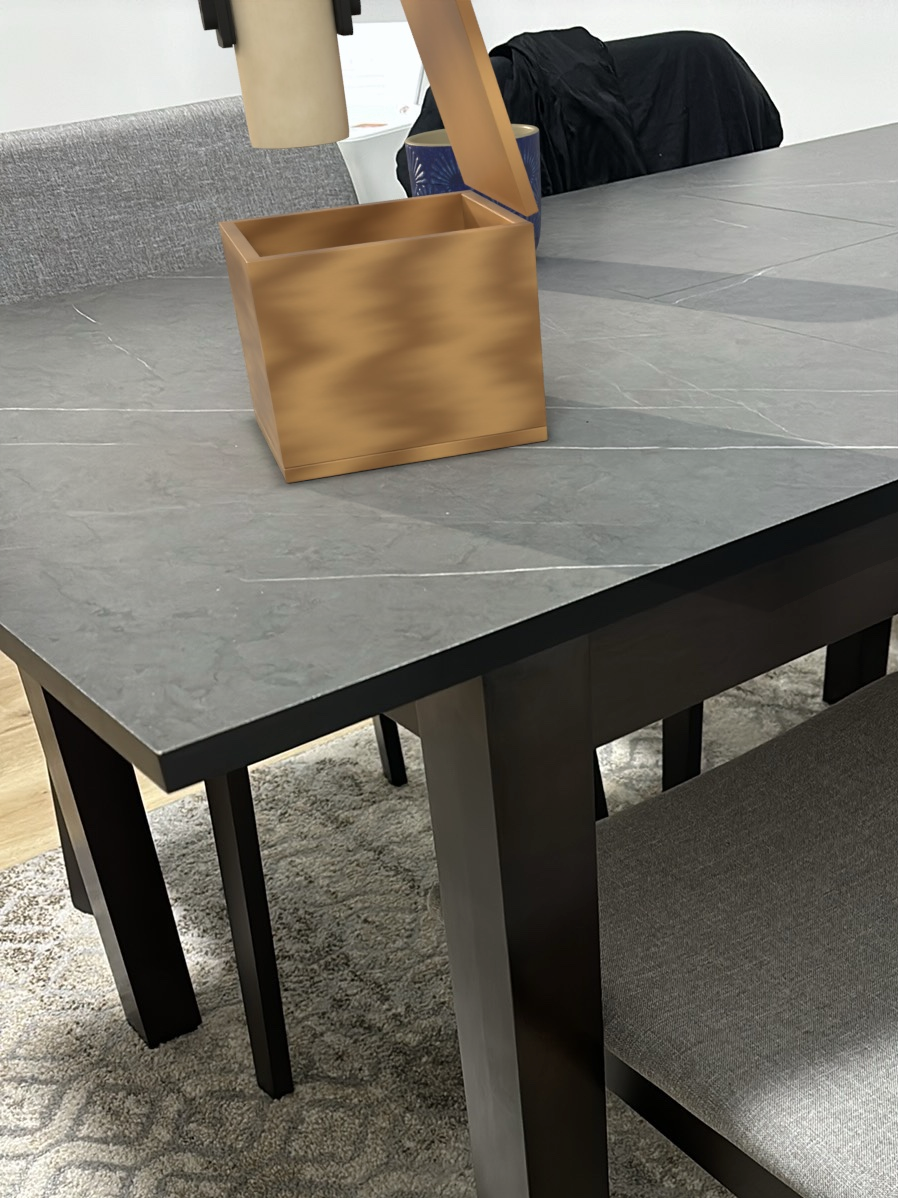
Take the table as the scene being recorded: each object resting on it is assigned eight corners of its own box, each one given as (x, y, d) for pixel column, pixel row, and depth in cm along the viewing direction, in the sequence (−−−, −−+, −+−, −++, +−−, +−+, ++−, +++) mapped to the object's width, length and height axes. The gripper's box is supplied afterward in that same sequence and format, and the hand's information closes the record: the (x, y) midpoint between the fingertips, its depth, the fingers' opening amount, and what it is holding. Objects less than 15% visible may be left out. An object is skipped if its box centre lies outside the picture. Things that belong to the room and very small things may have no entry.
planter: (408, 261, 138) (393, 134, 131) (528, 245, 140) (519, 119, 133) (433, 284, 128) (418, 149, 121) (562, 267, 130) (554, 133, 123)
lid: (405, -151, 69) (495, -194, 69) (352, -136, 81) (429, -173, 81) (527, 217, 80) (604, 180, 80) (464, 184, 92) (532, 151, 92)
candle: (344, 145, 74) (312, -88, 68) (242, 153, 75) (202, -79, 69) (355, 132, 79) (327, -89, 73) (260, 139, 79) (223, -80, 73)
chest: (286, 483, 85) (246, 261, 77) (255, 420, 96) (218, 222, 89) (548, 440, 88) (533, 223, 81) (488, 384, 100) (470, 189, 92)
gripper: (383, -427, 67) (427, 21, 78) (20, -411, 64) (119, 53, 75) (414, -463, 61) (457, 27, 72) (17, -447, 58) (125, 61, 69)
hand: (284, 36), depth 74 cm, fingers closed on candle, 5 cm apart
